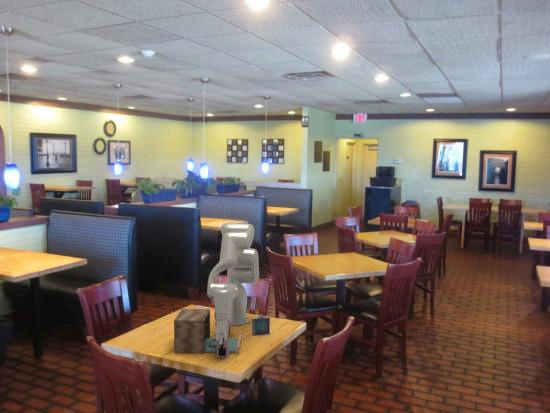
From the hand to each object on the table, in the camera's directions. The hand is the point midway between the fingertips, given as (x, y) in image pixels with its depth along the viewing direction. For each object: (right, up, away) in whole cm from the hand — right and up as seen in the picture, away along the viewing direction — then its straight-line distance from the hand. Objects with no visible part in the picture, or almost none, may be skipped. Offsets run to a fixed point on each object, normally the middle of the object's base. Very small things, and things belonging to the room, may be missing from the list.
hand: (223, 352), depth 216 cm
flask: (+17, +1, +27) cm, 32 cm away
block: (0, -1, 0) cm, 1 cm away
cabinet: (-16, 0, +11) cm, 19 cm away
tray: (-2, 0, +10) cm, 10 cm away
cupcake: (-2, +1, +25) cm, 25 cm away
